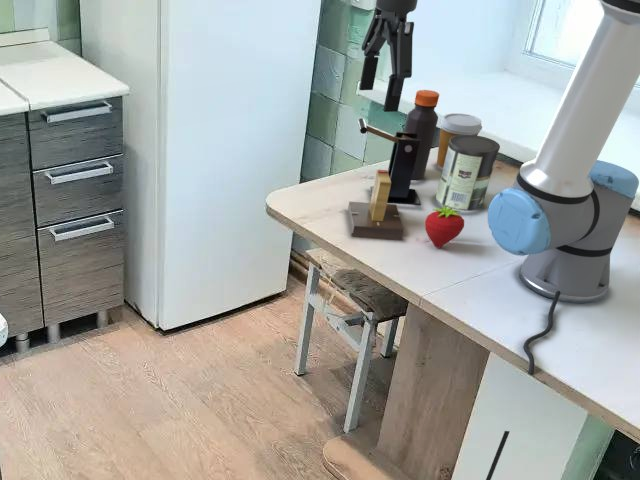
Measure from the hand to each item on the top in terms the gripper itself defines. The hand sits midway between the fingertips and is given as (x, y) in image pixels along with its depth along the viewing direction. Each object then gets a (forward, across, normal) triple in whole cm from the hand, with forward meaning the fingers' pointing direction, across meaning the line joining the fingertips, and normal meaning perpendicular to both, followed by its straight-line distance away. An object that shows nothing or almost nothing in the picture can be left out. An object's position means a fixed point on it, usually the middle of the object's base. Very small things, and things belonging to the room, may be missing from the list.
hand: (377, 100), depth 164 cm
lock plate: (+23, -10, 0) cm, 25 cm away
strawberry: (+24, -21, -10) cm, 33 cm away
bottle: (+23, +13, -17) cm, 32 cm away
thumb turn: (+21, -10, 0) cm, 23 cm away
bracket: (+23, +2, -9) cm, 25 cm away
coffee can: (+24, -2, -23) cm, 33 cm away
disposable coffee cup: (+23, +18, -30) cm, 42 cm away
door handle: (+10, +3, -5) cm, 11 cm away
